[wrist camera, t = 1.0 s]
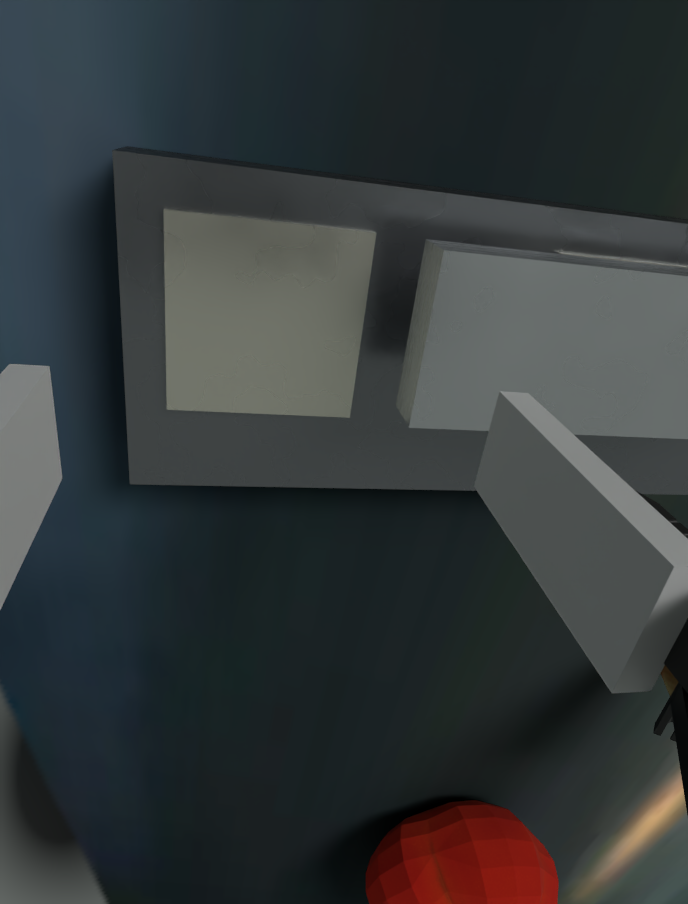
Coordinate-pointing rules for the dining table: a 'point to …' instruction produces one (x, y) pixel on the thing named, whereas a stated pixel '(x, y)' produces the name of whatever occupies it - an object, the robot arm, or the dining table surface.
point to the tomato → (461, 859)
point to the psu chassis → (319, 321)
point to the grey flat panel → (547, 341)
